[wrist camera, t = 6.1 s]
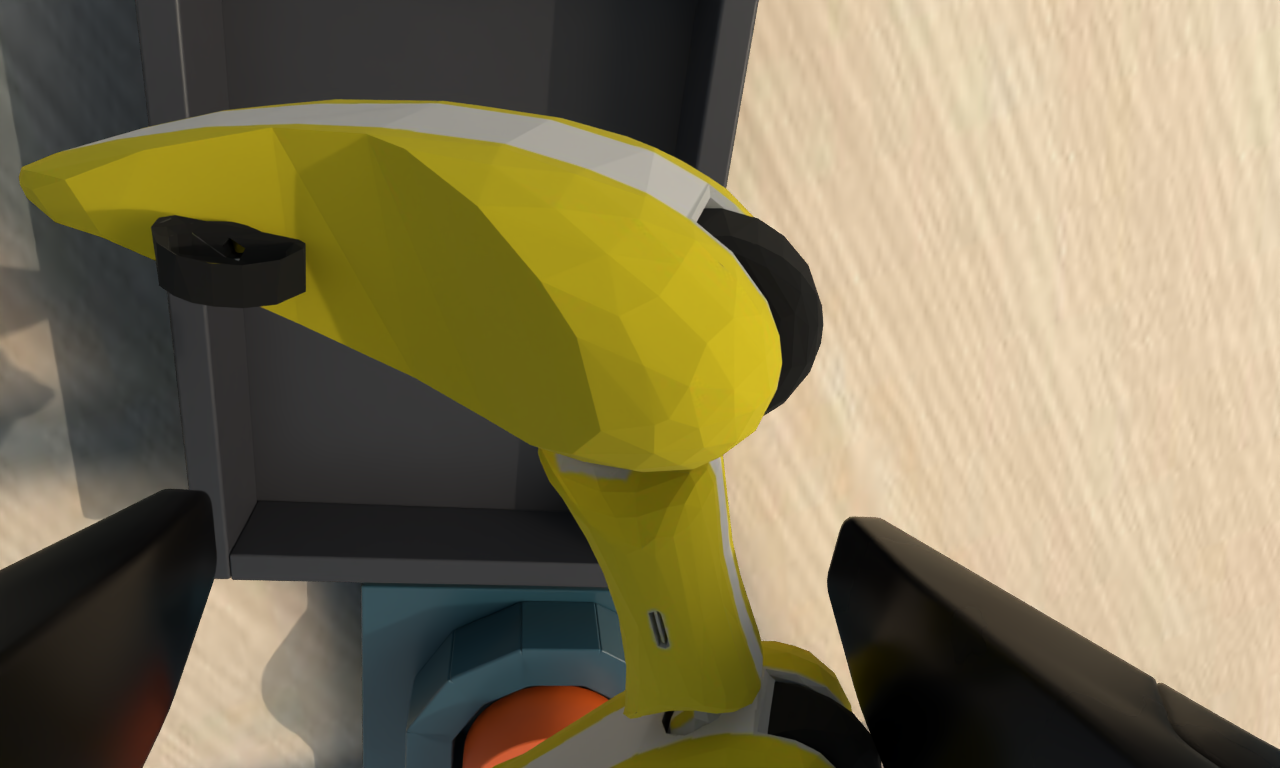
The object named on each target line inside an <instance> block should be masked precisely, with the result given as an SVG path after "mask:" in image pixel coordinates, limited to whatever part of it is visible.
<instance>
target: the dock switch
mask: <svg viewBox="0 0 1280 768" xmlns="http://www.w3.org/2000/svg"><path fill="white" fill-rule="evenodd" d="M361 632H362V733H363V768H462V766H463V753H464V744H465V739H466V736H467V733H468V731H469V729H470V728H471V726H472V724H473V723H474V721H475V720H476V719H477V717H478V716H479V715H480V714H481V713H482V712H483V711H484V710H485V709H486V708H487V707H489V706H490V705H491V704H492V703H494V702H496V701H497V700H499V699H500V698H502V697H504V696H506V695H509V694H511V693H513V692H516V691H518V690H521V689H525V688H529V687H533V686H578V687H582V688H585V689H589V690H591V691H594V692H596V693H598V694H600V695H602V696H604V697H606V698H607V699H608V700H610V699H611V698H613V697H614V696H616V695H618V694H619V693H621V692H623V691H625V688H626V662H625V656H624V649H623V643H622V636H621V630H620V624H619V617H618V614H617V611H616V608H615V605H614V602H613V600H612V597H611V594H610V591H609V588H608V587H570V586H520V585H470V584H420V583H370V582H362V585H361Z"/></svg>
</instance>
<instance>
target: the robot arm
mask: <svg viewBox="0 0 1280 768" xmlns="http://www.w3.org/2000/svg"><path fill="white" fill-rule="evenodd" d="M216 566H217V550H216V540H215V529H214V518H213V508H212V502H211V499H210V496H209V495H208V494H207V493H206V492H205V491H201V490H183V489H165V490H162V491H160V492H157V493H155V494H153V495H151V496H149V497H147V498H145V499H143V500H141V501H139V502H137V503H135V504H133V505H131V506H129V507H127V508H125V509H123V510H121V511H119V512H117V513H115V514H113V515H111V516H109V517H107V518H105V519H103V520H101V521H99V522H97V523H95V524H93V525H91V526H89V527H87V528H85V529H83V530H81V531H79V532H77V533H75V534H73V535H71V536H69V537H67V538H64V539H62V540H60V541H58V542H56V543H54V544H52V545H50V546H48V547H46V548H44V549H42V550H40V551H38V552H36V553H34V554H32V555H30V556H28V557H26V558H24V559H22V560H20V561H18V562H16V563H14V564H12V565H10V566H8V567H6V568H4V569H2V570H0V768H143V766H144V763H145V761H146V759H147V757H148V755H149V753H150V751H151V749H152V747H153V745H154V742H155V740H156V738H157V736H158V734H159V732H160V730H161V727H162V725H163V723H164V721H165V718H166V716H167V714H168V712H169V709H170V707H171V704H172V701H173V699H174V696H175V693H176V690H177V688H178V685H179V682H180V679H181V676H182V673H183V670H184V667H185V664H186V661H187V658H188V655H189V652H190V649H191V646H192V643H193V640H194V637H195V634H196V631H197V628H198V625H199V622H200V619H201V617H202V614H203V611H204V608H205V605H206V602H207V599H208V596H209V593H210V590H211V587H212V584H213V581H214V577H215V573H216ZM827 587H828V593H829V597H830V601H831V605H832V608H833V612H834V616H835V619H836V623H837V627H838V630H839V634H840V637H841V641H842V645H843V648H844V652H845V656H846V659H847V663H848V666H849V670H850V674H851V677H852V681H853V685H854V688H855V691H856V695H857V698H858V701H859V704H860V707H861V710H862V713H863V715H864V718H865V721H866V724H867V726H868V729H869V731H870V734H871V735H872V738H873V741H874V743H875V746H876V749H877V751H878V754H879V756H880V759H881V761H882V764H883V766H884V768H1280V749H1278V748H1276V747H1274V746H1272V745H1270V744H1269V743H1267V742H1265V741H1263V740H1261V739H1259V738H1257V737H1256V736H1254V735H1252V734H1250V733H1248V732H1247V731H1245V730H1243V729H1241V728H1240V727H1238V726H1236V725H1234V724H1233V723H1231V722H1229V721H1227V720H1226V719H1224V718H1222V717H1220V716H1219V715H1217V714H1215V713H1213V712H1212V711H1210V710H1208V709H1206V708H1205V707H1203V706H1201V705H1199V704H1198V703H1196V702H1194V701H1192V700H1191V699H1189V698H1187V697H1186V696H1184V695H1182V694H1180V693H1179V692H1177V691H1175V690H1174V689H1172V688H1170V687H1169V686H1167V685H1165V684H1163V683H1158V684H1157V683H1156V681H1155V679H1154V678H1153V677H1151V676H1149V675H1148V674H1146V673H1144V672H1143V671H1141V670H1139V669H1138V668H1136V667H1134V666H1132V665H1131V664H1129V663H1127V662H1126V661H1124V660H1122V659H1120V658H1119V657H1117V656H1115V655H1114V654H1112V653H1110V652H1108V651H1107V650H1105V649H1103V648H1102V647H1100V646H1098V645H1097V644H1095V643H1093V642H1091V641H1090V640H1088V639H1086V638H1085V637H1083V636H1081V635H1079V634H1078V633H1076V632H1074V631H1073V630H1071V629H1069V628H1068V627H1066V626H1064V625H1062V624H1061V623H1059V622H1057V621H1056V620H1054V619H1052V618H1050V617H1049V616H1047V615H1045V614H1044V613H1042V612H1040V611H1038V610H1037V609H1035V608H1033V607H1032V606H1030V605H1028V604H1027V603H1025V602H1023V601H1021V600H1020V599H1018V598H1016V597H1015V596H1013V595H1011V594H1009V593H1008V592H1006V591H1004V590H1003V589H1001V588H999V587H998V586H996V585H994V584H992V583H991V582H989V581H987V580H986V579H984V578H982V577H980V576H979V575H977V574H975V573H974V572H972V571H970V570H969V569H967V568H965V567H963V566H962V565H960V564H958V563H957V562H955V561H953V560H951V559H950V558H948V557H946V556H945V555H943V554H941V553H939V552H938V551H936V550H934V549H933V548H931V547H929V546H928V545H926V544H924V543H922V542H921V541H919V540H917V539H916V538H914V537H912V536H910V535H909V534H907V533H905V532H904V531H902V530H900V529H899V528H897V527H895V526H893V525H892V524H890V523H888V522H887V521H885V520H883V519H881V518H876V517H849V518H848V519H846V520H845V521H844V522H843V524H842V526H841V529H840V532H839V535H838V539H837V542H836V546H835V550H834V553H833V557H832V560H831V564H830V567H829V571H828V578H827Z"/></svg>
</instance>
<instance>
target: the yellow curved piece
mask: <svg viewBox="0 0 1280 768" xmlns="http://www.w3.org/2000/svg"><path fill="white" fill-rule="evenodd" d="M19 181H20V186H21V188H22V189H23V191H24V193H25V195H26V197H27V198H28V199H29V200H30V201H31V202H32V203H33V204H35V205H36V206H37V207H38V208H39V209H40V210H42V211H43V212H44V213H45V214H46V215H47V216H49V217H50V218H51V219H52V220H53V221H54V222H56V223H59V224H62V225H65V226H69V227H72V228H75V229H78V230H81V231H84V232H87V233H90V234H93V235H96V236H99V237H102V238H105V239H107V240H109V241H112V242H114V243H116V244H118V245H121V246H123V247H125V248H128V249H130V250H132V251H134V252H137V253H139V254H141V255H144V256H146V257H148V258H150V259H153V260H155V261H156V265H157V272H158V279H159V285H160V286H161V287H162V288H163V289H165V290H166V291H168V292H169V293H170V294H172V295H173V296H175V297H178V298H181V299H183V300H186V301H189V302H191V303H195V304H201V305H207V306H213V307H230V308H251V307H262V308H264V309H267V310H269V311H271V312H273V313H276V314H278V315H280V316H283V317H285V318H287V319H289V320H292V321H294V322H296V323H298V324H301V325H303V326H305V327H307V328H309V329H311V330H313V331H316V332H318V333H320V334H322V335H324V336H326V337H328V338H331V339H333V340H335V341H337V342H339V343H341V344H343V345H346V346H348V347H350V348H352V349H354V350H356V351H358V352H361V353H363V354H365V355H367V356H369V357H371V358H373V359H376V360H378V361H380V362H382V363H384V364H386V365H388V366H391V367H393V368H395V369H397V370H399V371H401V372H403V373H406V374H408V375H410V376H412V377H414V378H416V379H418V380H419V381H421V382H423V383H425V384H426V385H428V386H430V387H432V388H433V389H435V390H437V391H439V392H440V393H442V394H444V395H446V396H447V397H449V398H451V399H452V400H454V401H456V402H458V403H459V404H461V405H463V406H465V407H466V408H468V409H470V410H472V411H473V412H475V413H477V414H479V415H480V416H482V417H484V418H486V419H487V420H489V421H491V422H492V423H494V424H496V425H497V426H499V427H501V428H503V429H504V430H506V431H508V432H509V433H511V434H513V435H514V436H516V437H518V438H519V439H521V440H523V441H525V442H526V443H528V444H530V445H532V446H535V447H538V455H539V458H540V461H541V464H542V466H543V468H544V470H545V473H546V475H547V477H548V480H549V482H550V483H551V484H552V486H553V487H554V488H555V489H556V491H557V492H558V493H559V495H560V496H561V497H562V499H563V500H564V502H565V504H566V505H567V507H568V508H569V510H570V512H571V513H572V515H573V517H574V518H575V520H576V522H577V523H578V525H579V527H580V528H581V530H582V532H583V533H584V535H585V537H586V538H587V541H588V543H589V545H590V547H591V549H592V551H593V553H594V555H595V557H596V559H597V561H598V563H599V565H600V567H601V569H602V571H603V573H604V576H605V579H606V582H607V585H608V588H609V591H610V594H611V597H612V600H613V602H614V605H615V608H616V611H617V614H618V617H619V624H620V630H621V636H622V643H623V649H624V656H625V662H626V688H625V691H623V692H621V693H619V694H618V695H616V696H614V697H613V698H611V699H610V700H608V701H607V702H605V703H603V704H602V705H600V706H599V707H597V708H595V709H594V710H592V711H591V712H589V713H587V714H586V715H584V716H583V717H581V718H580V719H578V720H576V721H575V722H573V723H572V724H570V725H568V726H567V727H565V728H564V729H562V730H561V731H559V732H557V733H556V734H554V735H553V736H551V737H549V738H548V739H546V740H545V741H543V742H541V743H540V744H538V745H537V746H535V747H534V748H532V749H530V750H529V751H527V752H526V753H524V754H522V755H519V756H517V757H514V758H512V759H510V760H507V761H505V762H502V763H500V764H498V765H495V766H494V767H492V768H881V759H880V756H879V754H878V751H877V749H876V746H875V743H874V741H873V738H872V735H871V734H870V733H869V732H868V730H867V729H866V728H865V727H864V726H863V725H862V723H861V722H860V721H859V720H858V719H857V717H856V716H855V715H854V714H853V713H852V709H851V705H850V703H849V701H848V699H847V697H846V695H845V693H844V691H843V689H842V687H841V685H840V683H839V681H838V679H837V677H836V675H835V673H834V672H833V671H831V670H830V669H829V668H828V667H827V666H826V665H824V664H823V663H822V662H821V661H820V660H819V659H817V658H816V657H815V656H814V655H813V654H812V653H810V652H809V651H806V650H804V649H801V648H799V647H796V646H792V645H788V644H784V643H780V642H776V641H761V639H760V634H759V631H758V628H757V625H756V622H755V619H754V616H753V613H752V609H751V606H750V603H749V600H748V597H747V594H746V591H745V588H744V585H743V582H742V579H741V576H740V572H739V567H738V563H737V559H736V554H735V550H734V545H733V541H732V533H731V524H730V515H729V506H728V497H727V488H726V479H725V470H724V461H723V454H725V453H726V452H727V451H729V450H730V449H732V448H733V447H734V446H736V445H737V444H738V443H740V442H741V441H742V440H744V439H745V438H746V437H748V436H749V435H750V434H752V433H753V432H754V431H756V429H757V427H758V425H759V423H760V421H761V419H762V417H763V416H764V415H766V414H767V413H769V412H770V411H772V410H774V409H775V408H777V407H778V406H780V405H782V404H783V403H784V402H785V401H786V400H787V399H788V398H789V396H790V395H791V394H792V393H793V392H794V390H795V389H796V388H797V387H798V386H799V384H800V383H801V382H802V381H803V380H804V378H805V377H806V376H807V375H808V374H809V372H810V370H811V368H812V365H813V362H814V360H815V357H816V355H817V352H818V350H819V347H820V344H821V338H822V330H823V314H822V305H821V302H820V299H819V296H818V293H817V290H816V287H815V284H814V281H813V278H812V275H811V272H810V269H809V266H808V264H807V263H806V262H805V261H804V259H803V258H802V257H801V256H800V255H799V253H798V252H797V251H796V250H795V249H794V247H793V246H792V245H791V244H790V243H789V241H788V240H787V239H786V238H785V237H784V236H783V235H782V234H780V233H779V232H777V231H776V230H774V229H773V228H771V227H770V226H768V225H767V224H765V223H764V222H762V221H761V220H759V219H758V218H755V217H753V216H752V215H751V214H750V213H749V212H748V211H747V210H746V209H745V208H744V206H743V205H742V204H741V203H740V202H739V201H738V200H737V199H736V198H735V197H734V196H733V195H732V194H731V193H730V192H729V191H728V190H727V189H726V188H724V187H723V186H721V185H720V184H718V183H717V182H715V181H714V180H712V179H711V178H710V177H708V176H706V175H705V174H703V173H701V172H700V171H698V170H696V169H695V168H693V167H691V166H690V165H688V164H686V163H685V162H683V161H681V160H679V159H677V158H675V157H673V156H671V155H669V154H667V153H665V152H663V151H661V150H659V149H657V148H655V147H652V146H650V145H647V144H645V143H642V142H640V141H637V140H635V139H632V138H630V137H627V136H623V135H620V134H616V133H613V132H609V131H606V130H602V129H599V128H595V127H592V126H588V125H585V124H581V123H577V122H574V121H570V120H567V119H563V118H558V117H552V116H545V115H538V114H532V113H525V112H518V111H512V110H505V109H499V108H492V107H486V106H479V105H472V104H464V103H456V102H448V101H413V100H346V99H334V100H323V101H313V102H302V103H291V104H280V105H270V106H259V107H250V108H241V109H232V110H224V111H219V112H214V113H210V114H205V115H201V116H196V117H191V118H187V119H182V120H178V121H173V122H168V123H164V124H159V125H155V126H150V127H145V128H142V129H138V130H135V131H131V132H128V133H124V134H121V135H117V136H114V137H110V138H107V139H103V140H100V141H96V142H93V143H89V144H86V145H83V146H79V147H76V148H72V149H69V150H65V151H62V152H58V153H55V154H53V155H50V156H48V157H45V158H43V159H40V160H38V161H36V162H33V163H31V164H28V165H26V166H23V167H22V168H21V172H20V175H19Z"/></svg>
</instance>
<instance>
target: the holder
mask: <svg viewBox="0 0 1280 768" xmlns="http://www.w3.org/2000/svg"><path fill="white" fill-rule="evenodd" d="M758 2H759V0H135V4H136V13H137V22H138V32H139V41H140V50H141V59H142V68H143V77H144V86H145V95H146V104H147V113H148V122H149V127H150V126H155V125H159V124H164V123H168V122H173V121H178V120H182V119H187V118H191V117H196V116H201V115H205V114H210V113H214V112H219V111H224V110H232V109H241V108H250V107H259V106H270V105H280V104H291V103H302V102H313V101H323V100H334V99H346V100H413V101H448V102H456V103H464V104H472V105H479V106H486V107H492V108H499V109H505V110H512V111H518V112H525V113H532V114H538V115H545V116H552V117H558V118H563V119H567V120H570V121H574V122H577V123H581V124H585V125H588V126H592V127H595V128H599V129H602V130H606V131H609V132H613V133H616V134H620V135H623V136H627V137H630V138H632V139H635V140H637V141H640V142H642V143H645V144H647V145H650V146H652V147H655V148H657V149H659V150H661V151H663V152H665V153H667V154H669V155H671V156H673V157H675V158H677V159H679V160H681V161H683V162H685V163H686V164H688V165H690V166H691V167H693V168H695V169H696V170H698V171H700V172H701V173H703V174H705V175H706V176H708V177H710V178H711V179H712V180H714V181H715V182H717V183H718V184H720V185H721V186H723V187H724V188H726V186H727V180H728V174H729V169H730V163H731V157H732V151H733V146H734V140H735V134H736V128H737V123H738V117H739V111H740V105H741V99H742V94H743V88H744V82H745V76H746V71H747V65H748V59H749V53H750V48H751V42H752V36H753V30H754V25H755V19H756V13H757V7H758ZM167 295H168V304H169V313H170V323H171V332H172V341H173V350H174V359H175V368H176V377H177V386H178V395H179V404H180V413H181V423H182V432H183V441H184V450H185V459H186V468H187V477H188V486H189V490H201V491H205V492H206V493H207V494H208V495H209V496H210V499H211V502H212V508H213V518H214V529H215V540H216V550H217V566H216V573H215V577H214V579H229V578H231V576H232V579H233V580H271V581H321V582H370V583H420V584H470V585H520V586H570V587H608V585H607V582H606V579H605V576H604V573H603V571H602V569H601V567H600V565H599V563H598V561H597V559H596V557H595V555H594V553H593V551H592V549H591V547H590V545H589V543H588V541H587V538H586V537H585V535H584V533H583V532H582V530H581V528H580V527H579V525H578V523H577V522H576V520H575V518H574V517H573V515H572V513H571V512H570V510H569V508H568V507H567V505H566V504H565V502H564V500H563V499H562V497H561V496H560V495H559V493H558V492H557V491H556V489H555V488H554V487H553V486H552V484H551V483H550V482H549V480H548V477H547V475H546V473H545V470H544V468H543V466H542V464H541V461H540V458H539V455H538V447H535V446H532V445H530V444H528V443H526V442H525V441H523V440H521V439H519V438H518V437H516V436H514V435H513V434H511V433H509V432H508V431H506V430H504V429H503V428H501V427H499V426H497V425H496V424H494V423H492V422H491V421H489V420H487V419H486V418H484V417H482V416H480V415H479V414H477V413H475V412H473V411H472V410H470V409H468V408H466V407H465V406H463V405H461V404H459V403H458V402H456V401H454V400H452V399H451V398H449V397H447V396H446V395H444V394H442V393H440V392H439V391H437V390H435V389H433V388H432V387H430V386H428V385H426V384H425V383H423V382H421V381H419V380H418V379H416V378H414V377H412V376H410V375H408V374H406V373H403V372H401V371H399V370H397V369H395V368H393V367H391V366H388V365H386V364H384V363H382V362H380V361H378V360H376V359H373V358H371V357H369V356H367V355H365V354H363V353H361V352H358V351H356V350H354V349H352V348H350V347H348V346H346V345H343V344H341V343H339V342H337V341H335V340H333V339H331V338H328V337H326V336H324V335H322V334H320V333H318V332H316V331H313V330H311V329H309V328H307V327H305V326H303V325H301V324H298V323H296V322H294V321H292V320H289V319H287V318H285V317H283V316H280V315H278V314H276V313H273V312H271V311H269V310H267V309H264V308H262V307H251V308H230V307H213V306H207V305H201V304H195V303H191V302H189V301H186V300H183V299H181V298H178V297H175V296H173V295H172V294H170V293H169V292H168V291H167Z"/></svg>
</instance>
